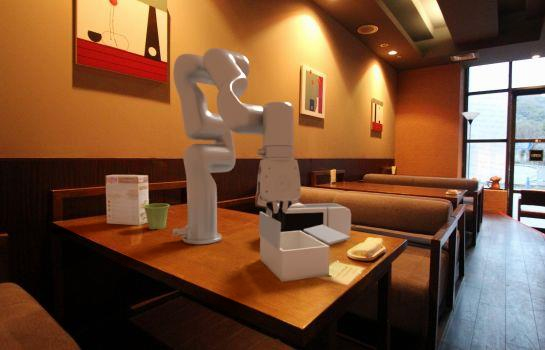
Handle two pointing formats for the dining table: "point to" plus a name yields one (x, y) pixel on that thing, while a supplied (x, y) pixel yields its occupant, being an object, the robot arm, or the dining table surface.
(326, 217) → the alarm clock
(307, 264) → the carton
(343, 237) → the far flap
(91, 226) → the dining table surface
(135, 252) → the dining table surface
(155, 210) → the plant pot
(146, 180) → the coffeecake box
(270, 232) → the near flap
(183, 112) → the robot arm
